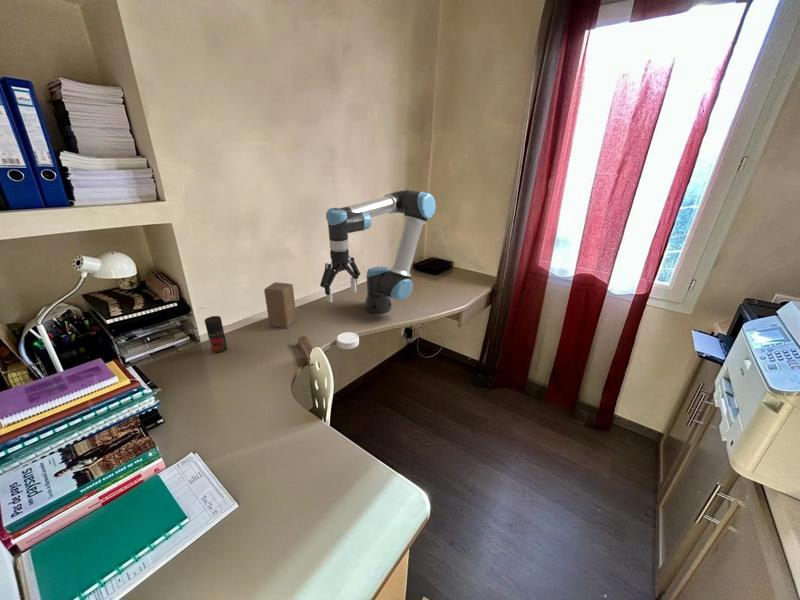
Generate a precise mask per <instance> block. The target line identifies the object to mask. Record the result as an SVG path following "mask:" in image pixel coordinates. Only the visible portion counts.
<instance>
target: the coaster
mask: <svg viewBox="0 0 800 600" xmlns="http://www.w3.org/2000/svg"><path fill="white" fill-rule="evenodd" d="M335 340H336V346H337V347H338V348H340V349H341V350H352V349H355V348H357V347H358V346H359V344H360V337H359V335H358V334H357V333H355V332H351V331H350V332H349V331H347V332H342V333H340V334H338V335H336V339H335Z"/></svg>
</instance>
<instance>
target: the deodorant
mask: <svg viewBox="0 0 800 600" xmlns="http://www.w3.org/2000/svg"><path fill="white" fill-rule="evenodd" d="M222 322H223V321H222V318H221V316H219V315H213V316H212V315H211V316H208V317H206V318H205V319H204V324H205V327H206V332H207V333H206V334H207V336H208V340H209V345H210V349H211V353H212V352H213V353H212V354H214V353H221V354H223V353H222V352H224V351H225V352H227V351H228V345H227V341H226V336H225V331H224V327H223V323H222ZM226 350H227V351H226ZM225 352H224V353H225Z"/></svg>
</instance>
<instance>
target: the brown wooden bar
mask: <svg viewBox="0 0 800 600" xmlns="http://www.w3.org/2000/svg"><path fill="white" fill-rule="evenodd" d="M297 343H298V346H299V348H300V350H301V352H302V354H303V356H304V359H305V361H306V362H307V365H308V366H309V360H310V353H311V351H312V349H313V348H314V346H313V344H312V342H311V341H310V339H309V337H308V335H303V336H299V337H297Z"/></svg>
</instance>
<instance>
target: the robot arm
mask: <svg viewBox="0 0 800 600" xmlns="http://www.w3.org/2000/svg"><path fill="white" fill-rule="evenodd" d="M436 205H437V204H436V200H435V197H434V196H433V195H432V194H431V193H428V192H424V191H417V190H408V189H404V190H399V191H394V192H391V193H388V194H385V195H384V196H383V197H380V198H376V199H372V200H367V201H364V202H359V203H355V204H351V205H348V206H344V207H340V208H339V207H330V208H329V209H328V210H327V212H326V214H325V218H326V221H327V228H328V239H329V241H328V242H329V249H330V250H329V255H330V260H331V262H330V263H325V264H324V271H323V274H322V278H321V280H320V281H321V282H320V285H319V286H320V287H321V288H323V289H324V294H325V295H326V301H328V302H329V303H333V301H334V300H333V292H332V290H333V289H332V287H331V286H332V283H333V281H334V279H335V278H336V276H337V275H338V274H339V273H340V272H342V271H346V272H347V273H348V274H349V275H350V276H351V277H350V290H351V292H353V293H357V285H358V279H359V276H361V272H360V271H359V269H358V266H357V264H356V262H355V258H354V257H353V256H350V255H349V234H352V233H356V232H362V231H363V232H364V231H367V230H368V229H370V228H371V226H372V218H373V217H377V216H381V215H384V214H394V213H398V214H404V215H403V217H404V219H405V222H404V227H403V231H402V232H401V238H400V241H399V243H398V244H399V245H398V248H397V252H396V254H395V259H394V263H393V267H391V268H390V269H389V267H388V266H383V265H381V266H372V267H370V268H368V269H367V271H366V292H367V293H366V297H365V300H364V304H363V307H364V310H365V311H366V312H368V313H372V314H384V313H388V312H390V311H391V310H392V301H391V299H393V300H397V301H404V300H406V299H407V298H409V296H410V295H411V294H412V292H413V289H414V283H413V281H412V280H411V277H412V274H411V273H410V271H411V267H412V263H413V261H414V257H415V254H416V250H417V246H418V243H419V238H420V236H421V232H422V229H423V226H424V225H425V224H427V222H428V220H429V219H431V218H432V217H433V216H434V215H435V213H436V209H437V207H436ZM348 264H349V265H350V266H349V265H348ZM390 298H391V299H390Z"/></svg>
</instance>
